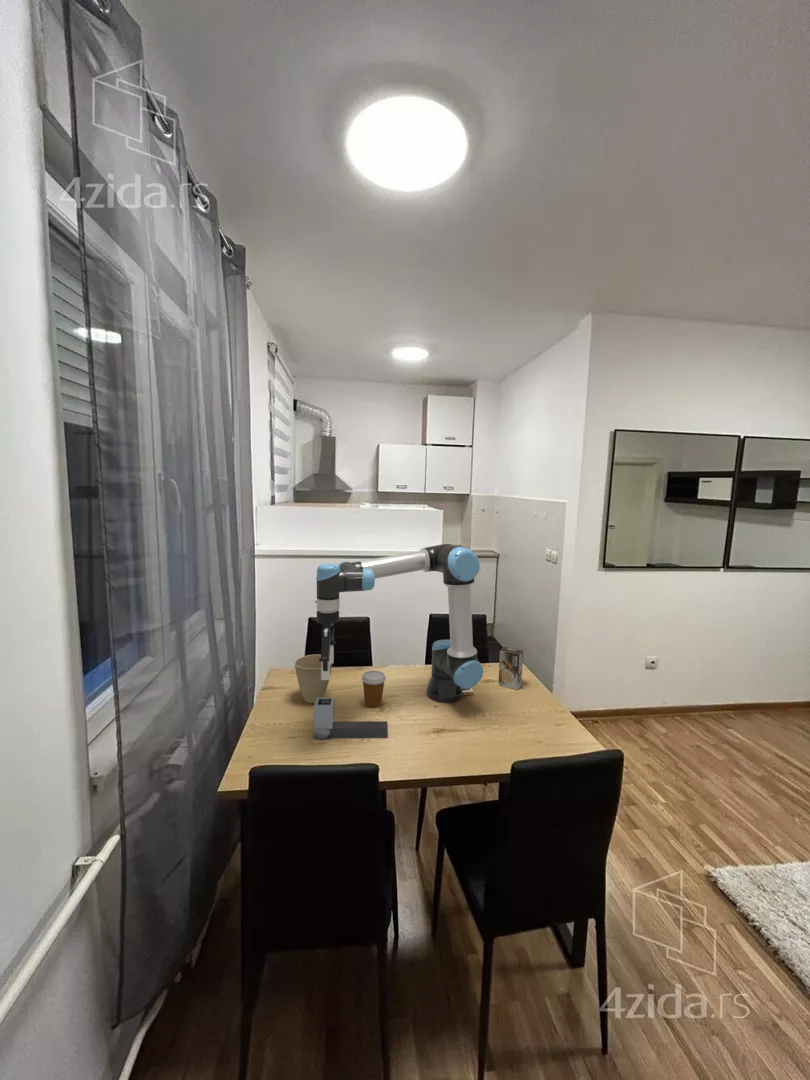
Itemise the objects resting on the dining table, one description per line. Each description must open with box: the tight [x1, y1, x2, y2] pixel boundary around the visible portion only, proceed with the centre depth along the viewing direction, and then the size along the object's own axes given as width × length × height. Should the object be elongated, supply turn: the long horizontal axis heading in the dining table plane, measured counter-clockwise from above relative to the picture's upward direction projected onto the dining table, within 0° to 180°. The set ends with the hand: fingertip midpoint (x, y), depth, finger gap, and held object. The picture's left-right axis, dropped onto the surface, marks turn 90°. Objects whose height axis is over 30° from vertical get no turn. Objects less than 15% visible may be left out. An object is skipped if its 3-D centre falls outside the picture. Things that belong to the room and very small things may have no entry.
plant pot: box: [294, 654, 333, 704], centre depth 175 cm, size 15×15×16 cm
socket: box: [313, 697, 335, 730], centre depth 150 cm, size 6×6×8 cm
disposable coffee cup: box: [361, 670, 386, 709], centre depth 173 cm, size 10×10×12 cm
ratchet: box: [313, 720, 389, 741], centre depth 151 cm, size 25×6×10 cm, turn 94°
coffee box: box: [497, 646, 524, 690], centre depth 194 cm, size 9×6×16 cm
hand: (327, 671), depth 149 cm, fingers open, 13 cm apart
